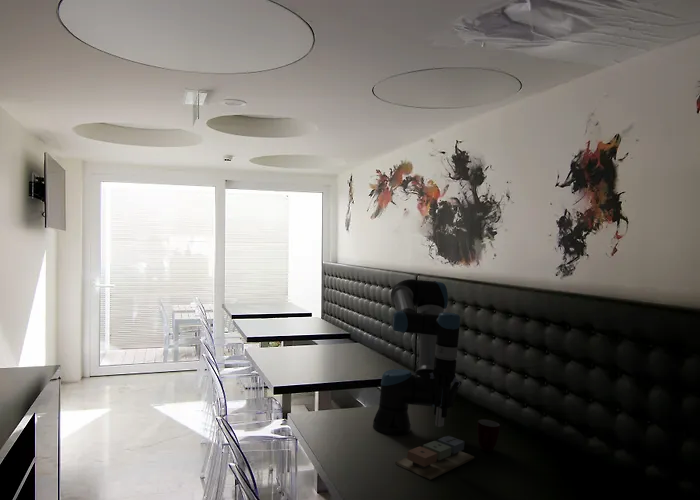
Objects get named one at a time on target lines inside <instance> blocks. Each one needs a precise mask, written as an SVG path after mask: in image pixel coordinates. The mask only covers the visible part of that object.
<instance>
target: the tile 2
mask: <svg viewBox="0 0 700 500" xmlns="http://www.w3.org/2000/svg"><path fill="white" fill-rule="evenodd" d="M422 447H423V448H426V449H428V450H431V451H433V452H436V453H437V459H438V460H441V459H443V458H446V457H448V456H450V455H451V447H450V446H447V445H445V444H442V443H439V442H437V440H433V441H430V442H427V443H425V444H423V445H422Z"/></svg>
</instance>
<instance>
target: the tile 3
mask: <svg viewBox="0 0 700 500" xmlns="http://www.w3.org/2000/svg"><path fill="white" fill-rule="evenodd" d="M436 441H437V442H439V443H442V444H445V445H447V446H450V447H451V453H453V454H455V453H457V452H459V451H464V450H465V440H461V439H459V438H456V437H453V436H452V435H444V436H443V437H440V438H437V440H436Z"/></svg>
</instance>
